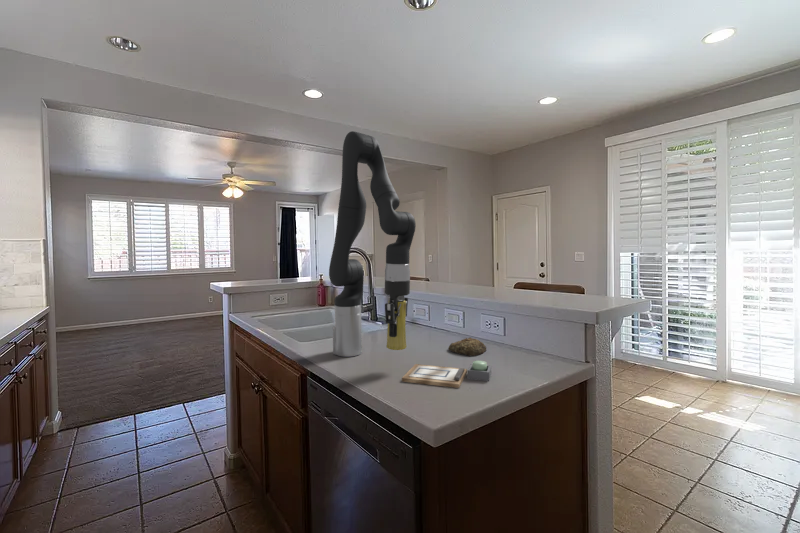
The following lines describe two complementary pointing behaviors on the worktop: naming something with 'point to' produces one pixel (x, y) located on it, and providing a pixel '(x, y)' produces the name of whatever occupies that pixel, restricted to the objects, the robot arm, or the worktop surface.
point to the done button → (480, 365)
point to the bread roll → (468, 347)
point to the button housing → (479, 374)
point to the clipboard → (435, 375)
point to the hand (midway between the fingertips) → (396, 334)
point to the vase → (398, 330)
